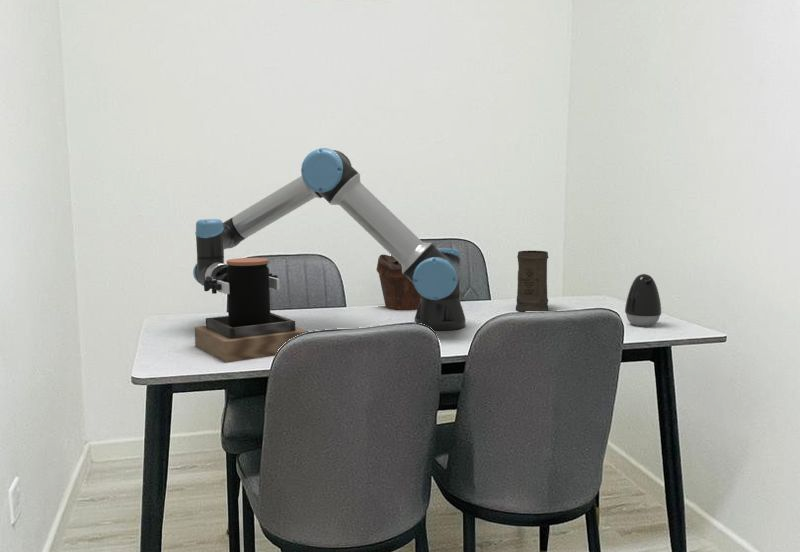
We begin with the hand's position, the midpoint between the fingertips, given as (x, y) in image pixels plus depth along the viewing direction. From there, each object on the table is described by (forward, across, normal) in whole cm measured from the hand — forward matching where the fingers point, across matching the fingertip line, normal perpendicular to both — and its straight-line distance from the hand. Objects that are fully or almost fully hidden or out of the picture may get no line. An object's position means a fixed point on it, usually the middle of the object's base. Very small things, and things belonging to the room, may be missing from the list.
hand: (253, 286), depth 192 cm
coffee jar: (-3, 0, -12) cm, 12 cm away
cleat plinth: (-3, 0, -16) cm, 17 cm away
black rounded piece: (+35, -107, -17) cm, 114 cm away
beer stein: (-4, -100, -17) cm, 102 cm away
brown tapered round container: (-32, -68, -17) cm, 77 cm away
